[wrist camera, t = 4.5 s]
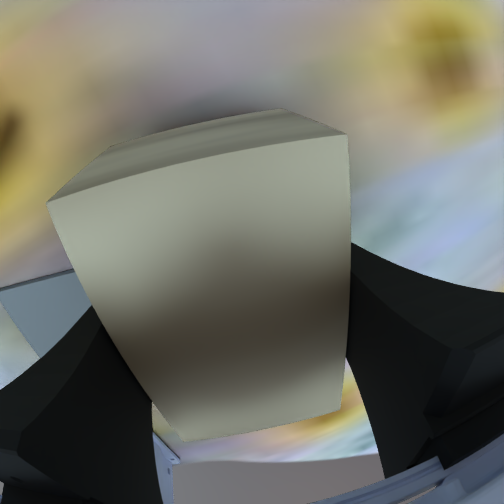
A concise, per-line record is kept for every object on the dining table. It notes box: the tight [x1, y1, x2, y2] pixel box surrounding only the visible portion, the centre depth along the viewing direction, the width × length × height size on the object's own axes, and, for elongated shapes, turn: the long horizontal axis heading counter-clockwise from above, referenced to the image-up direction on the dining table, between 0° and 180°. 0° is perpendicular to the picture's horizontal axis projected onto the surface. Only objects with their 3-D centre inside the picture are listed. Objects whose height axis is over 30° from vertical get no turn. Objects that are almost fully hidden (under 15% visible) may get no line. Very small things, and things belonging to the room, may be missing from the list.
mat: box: [0, 269, 92, 358], centre depth 19 cm, size 12×9×1 cm
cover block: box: [46, 108, 351, 442], centre depth 10 cm, size 9×6×5 cm, turn 9°
